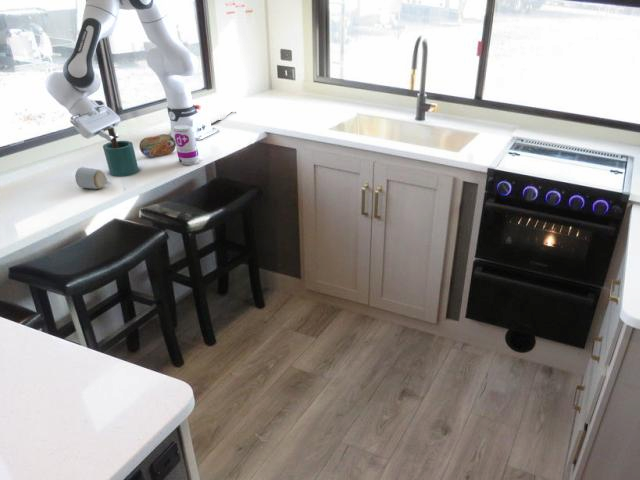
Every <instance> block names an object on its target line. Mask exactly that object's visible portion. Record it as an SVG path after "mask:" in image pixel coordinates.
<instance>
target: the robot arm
mask: <svg viewBox="0 0 640 480" xmlns="http://www.w3.org/2000/svg"><path fill="white" fill-rule="evenodd" d="M119 10H124V11H125V10H127V11H129V10H131V11H132V10H135V11H136V14H137V16H138V19H139V22H140V23H141V26H142V28H143V30H144V32H145V33H144V34H145V35H146V37H147V40H149V41H150V42H151V43H152V44H154V46H155V47H151V48H149V50H148V51H147V52H146V63H147V66H148V67H149V68H150V69H151V70H152V71H153V72H154V73H155V75H156V76H157V78H158V80H159V82H160V84H161V86H162V88H163V91H164V94H165V100H166V104H167V107H166V109H167V114H168V118H169V125H170V136H171V137H172V138H173V139H174V134H173V130H174V127H175V126H177V125H183V124H187V125H191V126H192V128H193V129H194V133H195V139H196V141H200V140H203V139H205V138H207V137H209V136H211V135H213V134H215V133H218V129H217V128H215V127H214V126H213V125H215V124H217V123H219V122H221V121H222V120H219V119H217V120H215V121H214V122H212V123H211V121H210V119H209V118H208V117H206V116H205V115H204V114H201V112H199V111H198V110H201V105H200V104H194V103H193V97H192V90H191V88H190V86H189V85H188V83H186V82H185V81H184V79H183V78H182V77H189V76H190V77H191V76H194V75H195V74H196V73H197V72H198V70H199V61H198V57H197V56H196V55H195V54H194V53H193V52H192V51H190V50H189V49H188V48H187V47H186V46H185V45H184V44H183V42H182V41H181V40H180V38H179V36H178V35H177V34H176V32H175V30H174V29H173V25H172V23H171V21H170V19H169V17H168V15H167V12H166V10H165V8H164V5H163V4H162V2H161V0H86V3H85V5H84V9H83V16H82V20H81V21H82V22H81V27H80V30H79V34H78V36H77V39H76V43H75V46H74V49H73V52H72V54H71V55H70V57H69V58H68V59H66V61H65V62H64V64H63V66H62V71H54V72H52V73H51V74H49V76H48V77H47V79H46V80H45V88H46V91H47V92H48V93H49V95H50V96H51V97H52V98H53V99H54V100H55V101H56V102H57V103H58V104H59V105H60V106H62V107H64V108H65V109H66V110H67V111H68V113H69V114H70V115H71V116H70V117H69V122H70V124H71V125H73V127H74V129H75V130H76V131H77V132H78V133H79V134H80V135H81V136H82V137H83V138H84V139H87V140H89V139H90V138H93V137H95V136H98V135H99V137H101V138H102V139H103V138H104V139H106V140H107V141H108V142H111V141H112V140H113V137H112V136H111V135H109V133H107V132H106V131H108V129H107V128H109V127H113V128H114V131H115V135H116V139H118V138H119V137H120V134H119V133H118V132H117V130H116V128H115V127H118V126H119V124H120V123H121V121H122V120H121V117H120V116H119V115H118V113H116V112H115V111H114V110H113V109H112V108H111V107H109V106H108V105H106V102H104V101H103V100H101V99H99V100H98V99H89V98H88V97H90V96H91V95H93V94H94V93H96V92H97V91H98V90H99V89H100V86H101V79H100V77H99V75H98V74H97V72H96V71H95V69H94V66H93V60H94V56H95V53H96V50H97V47H98V44H99V42H100V40H102V39H106V38H109V37H110V36H112V34H113V32H114V30H115V27H116V24H117V22H118V16H119ZM174 140H175V139H174Z"/></svg>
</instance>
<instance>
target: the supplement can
mask: <svg viewBox="0 0 640 480" xmlns="http://www.w3.org/2000/svg"><path fill="white" fill-rule="evenodd" d="M173 134H174V139H175V144H176V147H175V150H176V152H177V153H176V154H177V158H178V163H180V164H181V165H183V166H191V165H196V164H197V163H199V162H200V157H199V151H198V145H197V140H196V139H195V133H194V129H193V128H192V126H191V125H187V124H183V125H177V126H175V127H174V130H173Z"/></svg>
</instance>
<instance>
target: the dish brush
mask: <svg viewBox="0 0 640 480" xmlns="http://www.w3.org/2000/svg"><path fill="white" fill-rule="evenodd" d="M114 128H115V127H114ZM114 128H113V127H109V128H107V129H108V130H107V132H108V133H107V134H108V135H111V136H112V137H113V140H112V141H110V142H111V144H112V148H119V147H118V143H117V141H118V140H117V139H118V138H116V135H115V131H116V130H115V131H114Z"/></svg>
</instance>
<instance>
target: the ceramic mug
mask: <svg viewBox="0 0 640 480" xmlns="http://www.w3.org/2000/svg"><path fill="white" fill-rule="evenodd" d="M108 180H109V179H108V178H107V176H106V174H105V172H104V171H102V170H101V169H96V168H91V167H85V166H80V167H78V169H77V170H76V171H75V182H76V184H77V186H78V187H79V188H82V189H92V190H93V189H94V190H100V189H103V188H104V187H105V185H106V183H108Z"/></svg>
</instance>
